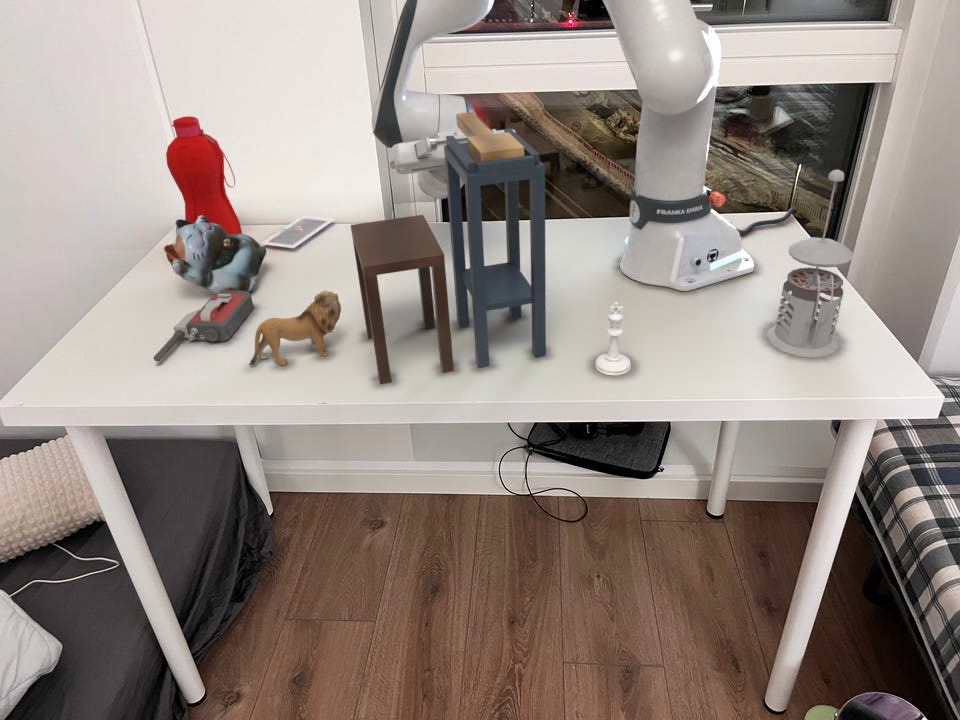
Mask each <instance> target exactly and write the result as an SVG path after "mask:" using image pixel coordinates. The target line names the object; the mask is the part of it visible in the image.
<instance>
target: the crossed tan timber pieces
mask: <svg viewBox="0 0 960 720" xmlns="http://www.w3.org/2000/svg"><path fill="white" fill-rule="evenodd" d="M476 116H477V115H476ZM476 116H475V115H474V114H473V113H472V112H468V113H459V114H456V119H457V127H458V128H459V129H460V130H461V131H462V132H463V133H464V135H465V136H466V137H467V142H468V154H469V155H470V156H471V158H472V159H473V160H474V161H475V162H476V163H477V162H484V161H492V160H500V159H507V158H515V157H523V156H524V146H523V145H522V144H520V143H519V142H518V141H517V140H516V139H515V138H514V137H513V136H512V135H511V134H510V133H509V132H506V133H497V134H494V133H493V132H492V131H491V129H490V128H489V127H488V126H487V125H486V124H485V123H484V122H482V120H481V119H480V118H479V117H478V116H477V117H476Z"/></svg>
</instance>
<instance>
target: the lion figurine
mask: <svg viewBox="0 0 960 720" xmlns="http://www.w3.org/2000/svg"><path fill="white" fill-rule="evenodd" d="M313 299H314V300H313V302H311V303H310V305H308V306H307V307H306V309H304V311H302V312H301V313H300V314H299V315H298V316H295V317H294V316H293V317H287V318H280V317H269V318H268V319H265V320H264V321H262V322H261V323H259V325H258V327H257V328H256V330H255V331H256V332H255V336H254V355H253V357H252V359H251V360H250V362H249V364H248V366H253V365H255V364H256V363H257V360H258V358H259V359H261V360H264V359H265V360H266V359H268V357H269V354H268V353H267V352H264V350H265V348H266V347H267V346H269V348H270V350H271V353H270V356H271V357H272V358H273V360H275V362H276V363H277V364H278V365H279V366H281V367H283V366H287V365H288V360H287V359H286V358H281V357H280V354H279V351H280V346H281V339H284V340H287V341H289V342H302V341H305V340H308V339H310V341H311V347H312V348H313V349H314V350H316V351H317V353H318V354H319V356H321V357H324V358H325V357H328V356H329V355H330V353H329V351H328V350H325V338H324V336H326V335H328V334H330V333H332V332H333V331H334V330H335V328H336V324H338V321H339V320H340V318H341V314H342V313H341V312H342V306H341V303H340V301H339V300H340V299H339V295H338V293H334V292H333V291H330V290H329V291H328V290H324V291H321V292H320V293H317V294H316V295H314V298H313ZM261 335H262V337H261Z"/></svg>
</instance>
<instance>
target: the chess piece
mask: <svg viewBox="0 0 960 720" xmlns="http://www.w3.org/2000/svg"><path fill="white" fill-rule="evenodd" d="M623 309H624V307H623V306H619V302H618V301H614V305H609V311H611V312H610V313H608V315H607V318H608V322H609V325H610V327H608V328H607V330H606V334H607V335H609V336H610V340H609V345H608V350H607V352H606V353H602V354H600V355H598V356H597V358H596V360H595V363H594V366H595V369H596V370H597V371H598V372H599V373H601V374H603V375H607V376H614V377H615V376H623V375H625V374H627V373H628V372H630V370H631V368H632V365H631V364H632V363H631V360H630V358H629V357H628V356H627V355H625V354H621V353H620V344H619V343H620V342H619V336H621V335H623V333H624V332H623V329H622V328H621V327H620V326H621V324H622V321H623V319H624V315H623V314H622V313H620V312H623Z"/></svg>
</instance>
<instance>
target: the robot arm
mask: <svg viewBox="0 0 960 720" xmlns="http://www.w3.org/2000/svg"><path fill="white" fill-rule="evenodd" d="M602 2H603V4H604V6H605V8H606V10H607V12H608V15H609V17H610V19H611V22H612V25H613V27H614V30H615V34H616V36H617V39H618V43H619V45H620V48H621V50H622V52H623V55H624V58H625V60H626V63H627V65H628V68H629V70H630V73H631V76H632V78H633V80H634V82H635V86H636V89H637V93H638V95H639V98H640V99H641V101H642V104H641V105H642V107H641V112H640V113H641V114H640V119H639V120H640V122H639V126H638V127H639V128H638V134H637V140H636V153H635V171H634V183H633V184H634V185H632V187H631V192H630V202H629V223H630V225H629V231H628V236H627V237H626V238H625V240H624V243H625V244H626V245H625V248H624V251H623V255H622V258H621V260H620V263H619V269H620V271H621V272H622V273H623V274H624V275H625V276H626V277H628V278H630V279H632V280H634V281H636V282H639V283H641V284H647V285H652V286H660V287H666V288H671V289H674V290H677V291H680V292H681V291H682V292H689V291H692V290H695V289H699V288H702V287H706V286H710V285H713V284H716V283H719V282H723V281H728V280H730V279H733V278H737V277H740V276H743V275H747V274H750V273H752V272H754V270H755V262H754V260H753V258H752V257H751V256H750V254H748V252H746V251H745V250H744V249H743V245H742V237H741V236H742V235H746V234H748V233H749V232H751V231H752V230H753V229H754V228H756V227H761V226H768V225H769V226H770V225H776V224H780V223H783V222H785V221H787V220H788V219H789V218H790V217H791V216H792V214H798V210H797V209H796V208H795V207H790V208H789V209H788V210H787V211H786V213H785V215H783V216H782V217H779V218H775V219H765V220H759V221H754V222H753V223H751V224H749V225H748V226H747V227H746V228H745V229H739V228H738V227H737V226H735V225H734V224H733V222H732V221H730V220H727V218H725V217H723V216H722V214H720V213H719V212H717V211H716V210H714V209H713V208H712V205H711V204H713V206H715V207H717V208H720V207H722V206H723V205H724V204H725V201H726V196H725V195H724V194H722V193H720V192H719V191H712V190H711V189H710V188H708V187H707V186H705V182H706V174H707V173H706V171H707V163H708V155H709V154H708V153H709V146H710V137H711V131H712V123H713V115H714V107H715V102H716V101H715V99H716V93H717V85H718V78H719V71H720V70H719V69H720V62H721V53H722V52H721V44H720V39H719V37H718V35H717V34H716V32H715V30H714V29H713V28H712V27H711V26H710V25H709V24H708V23H707V22H705V21H703V20H701V19H698V18H697V16H696V13H695V10H694V8H693V5H692V3H691V0H602ZM494 3H495V0H405V2H404V5H403V7H402V10H401V13H400V16H399V20H398V22H397V25H396V29H395V33H394V37H393V39H392V44H391V48H390V52H389V56H388V59H387V64H386V67H385V70H384V76H383V79H382V81H381V85H380V88H379V92H378V95H377V97H376V99H375V101H374V104H373V107H372V111H371V129H372V134H373V135H374V137H375V138H376V139H377V140H378V141H379V142H380V143H381V144H383V146H385V147H386V148H388V149H391V151H392V157H393V159H392V160H390V161H389V163H388V167H389V168H390V169H391V170H394V169H395V171H396V173H397V174H399V175H408V174H416V180H417V184H418V187H419V188H420V190H421V191H422V192H423V194H424V195H426V196H427V197H429V198H432V199H435V200H444V199H448V193H447V180H446V167H445V154H444V146H445V145H447V142H446V136H454V137H455V138H456V140H457V141H458V142H459V143H468V142H467V137H466V136H465V135H464V133H463V132H462V131H461V130H460V129H459V128H458V127H457V119H456V114H459V113H468V112H472V113H473V114H474V115H475V116H476V117H477V118H478V116H477V113H476V111H475V109H474V107H473V106H472V104H471V103H470V101H469V100H468V99H467V98H466V97H465V96H461V95H454V94H445V93H432V92H423V91H413V90H409V89H407V87H408V83H409V79H410V76H411V73H412V70H413V65H414V62H415V58H416V56H417V52H418V51H419V49H420V48H421V47H422V46H423V45H425V44H426V43H427V42H429V41H431V40H433V39H436V38H438V37H441V36H444V35H447V34H451V33H452V34H453V33H457V32H460V31H464V30H466V29H469V28H472V27H473V26H476V24H478V23H480V22H481V21H482V20H483V19H484V18H486V16H487V15H489V13H490V11H491V10H492V9H493V6H494ZM511 129H512V130H513V131H514V132H515V133H516V134H517V132H516V130H515V129H513V128H511ZM490 130H491V131H492V132H493V133H494V134H497V133H504V129H499V130H498V129H496V128H492V129H490ZM464 185H465V183H464V182H463V180H462V179H461V177H460V189H462V187H463V186H464Z"/></svg>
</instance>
